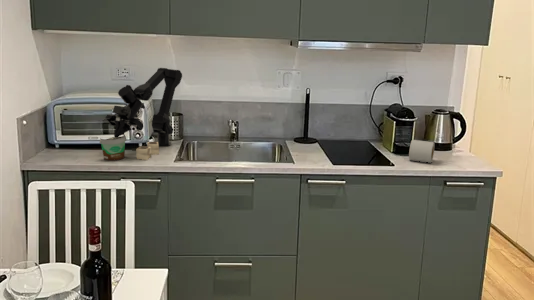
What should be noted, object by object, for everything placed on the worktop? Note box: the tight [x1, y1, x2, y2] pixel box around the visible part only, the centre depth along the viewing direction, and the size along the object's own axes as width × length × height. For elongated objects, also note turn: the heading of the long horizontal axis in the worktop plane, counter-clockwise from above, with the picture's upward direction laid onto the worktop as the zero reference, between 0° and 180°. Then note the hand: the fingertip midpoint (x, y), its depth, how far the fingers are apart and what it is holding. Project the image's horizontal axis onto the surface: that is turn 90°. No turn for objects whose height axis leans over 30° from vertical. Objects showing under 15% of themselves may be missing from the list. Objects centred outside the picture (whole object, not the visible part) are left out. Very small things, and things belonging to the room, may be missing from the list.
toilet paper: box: [408, 139, 435, 164], centre depth 249 cm, size 10×10×10 cm
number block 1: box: [136, 145, 152, 161], centre depth 240 cm, size 5×5×5 cm
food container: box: [99, 134, 127, 162], centre depth 236 cm, size 12×6×10 cm, turn 130°
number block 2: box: [146, 141, 160, 156], centre depth 249 cm, size 5×5×5 cm
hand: (115, 137), depth 234 cm, fingers closed, pressing on food container
